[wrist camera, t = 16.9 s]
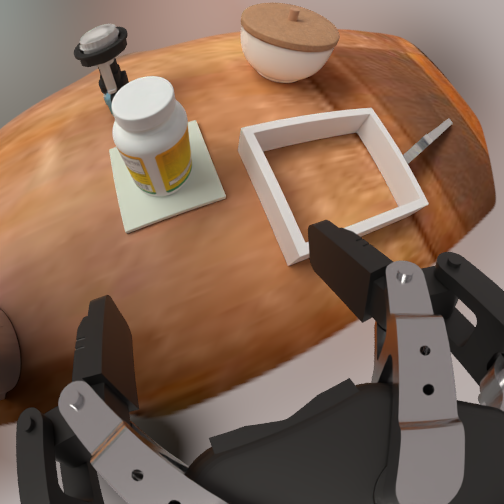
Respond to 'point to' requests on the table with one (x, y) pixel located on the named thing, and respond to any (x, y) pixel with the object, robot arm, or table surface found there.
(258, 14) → the lidded jar
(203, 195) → the rubber mat
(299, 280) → the table surface
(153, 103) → the supplement bottle
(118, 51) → the push button
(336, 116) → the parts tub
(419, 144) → the caliper
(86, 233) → the table surface
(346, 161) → the table surface
